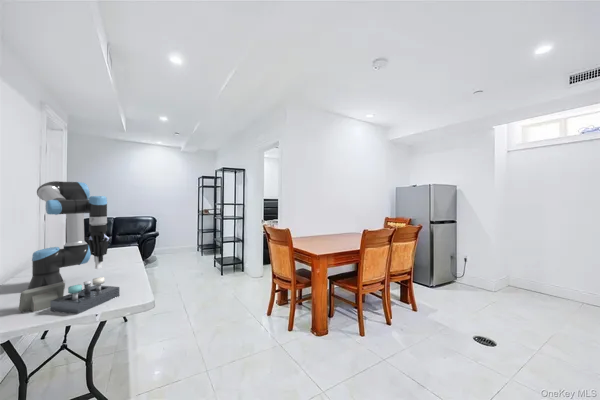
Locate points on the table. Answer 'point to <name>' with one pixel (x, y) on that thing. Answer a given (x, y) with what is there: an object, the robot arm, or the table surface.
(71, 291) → the knob outer
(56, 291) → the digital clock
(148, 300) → the table surface
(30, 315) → the table surface
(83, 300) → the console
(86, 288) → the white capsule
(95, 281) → the knob inner
